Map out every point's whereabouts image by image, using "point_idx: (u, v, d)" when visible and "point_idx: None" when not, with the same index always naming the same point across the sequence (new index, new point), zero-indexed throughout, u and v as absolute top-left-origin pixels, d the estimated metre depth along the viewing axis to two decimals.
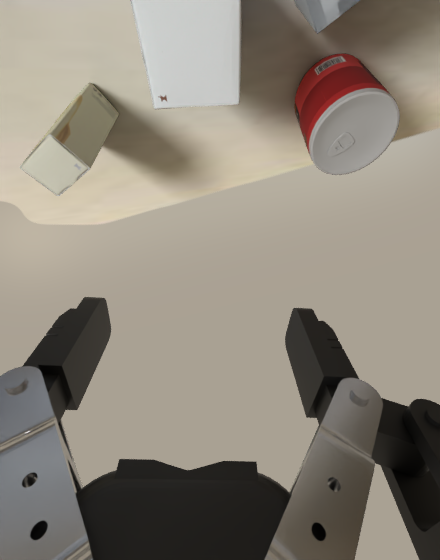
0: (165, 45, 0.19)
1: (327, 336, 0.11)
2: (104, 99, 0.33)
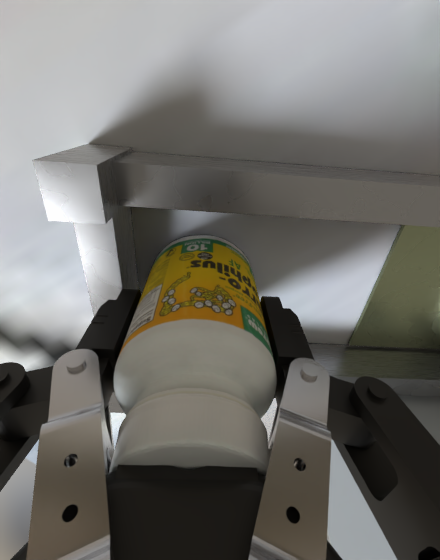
0: None
1: (290, 322, 0.11)
2: None
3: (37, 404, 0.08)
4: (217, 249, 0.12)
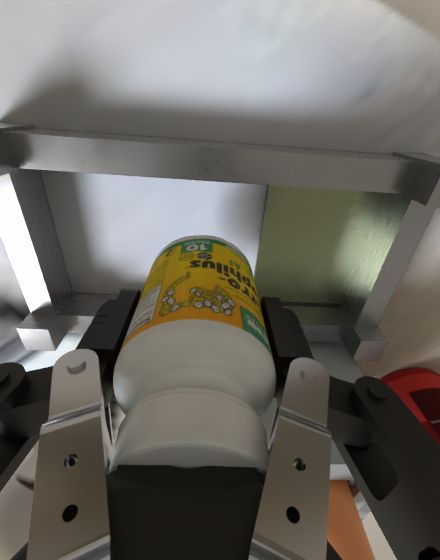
0: None
1: (290, 322, 0.11)
2: None
3: (37, 404, 0.08)
4: (217, 249, 0.12)
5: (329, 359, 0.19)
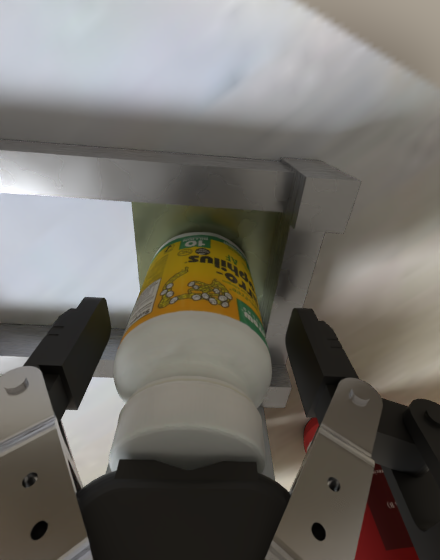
0: None
1: (327, 336, 0.11)
2: None
3: None
4: (214, 245, 0.12)
5: None
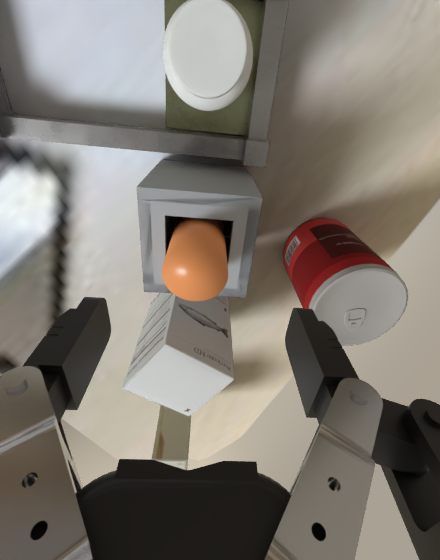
0: (162, 393, 0.24)
1: (327, 336, 0.11)
2: None
3: None
4: None
5: (228, 173, 0.23)
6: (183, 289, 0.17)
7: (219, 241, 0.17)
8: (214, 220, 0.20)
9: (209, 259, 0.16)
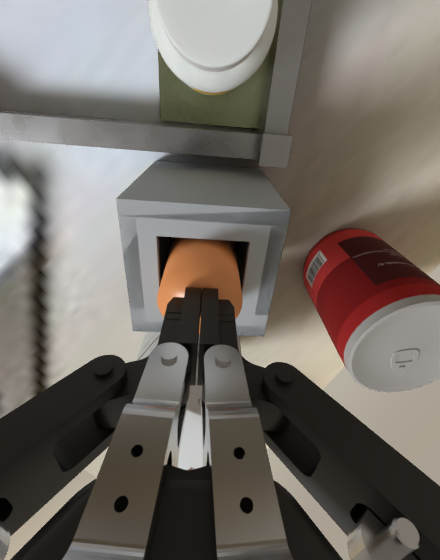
0: None
1: (225, 312, 0.11)
2: None
3: None
4: None
5: (239, 176, 0.18)
6: None
7: (230, 258, 0.14)
8: None
9: (218, 283, 0.12)
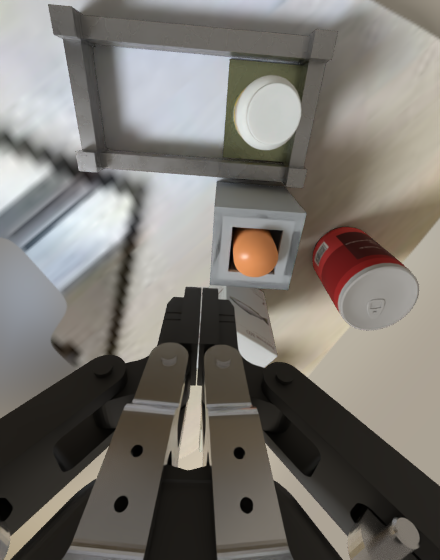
0: None
1: (225, 312, 0.11)
2: None
3: None
4: None
5: (273, 192, 0.29)
6: (246, 268, 0.25)
7: (270, 236, 0.26)
8: None
9: (266, 247, 0.24)
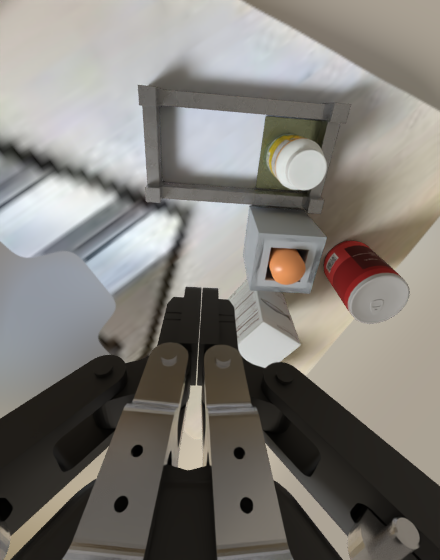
0: (254, 354, 0.38)
1: (225, 312, 0.11)
2: None
3: None
4: None
5: (296, 216, 0.37)
6: (281, 278, 0.33)
7: (298, 253, 0.34)
8: None
9: (297, 262, 0.32)
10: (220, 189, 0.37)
